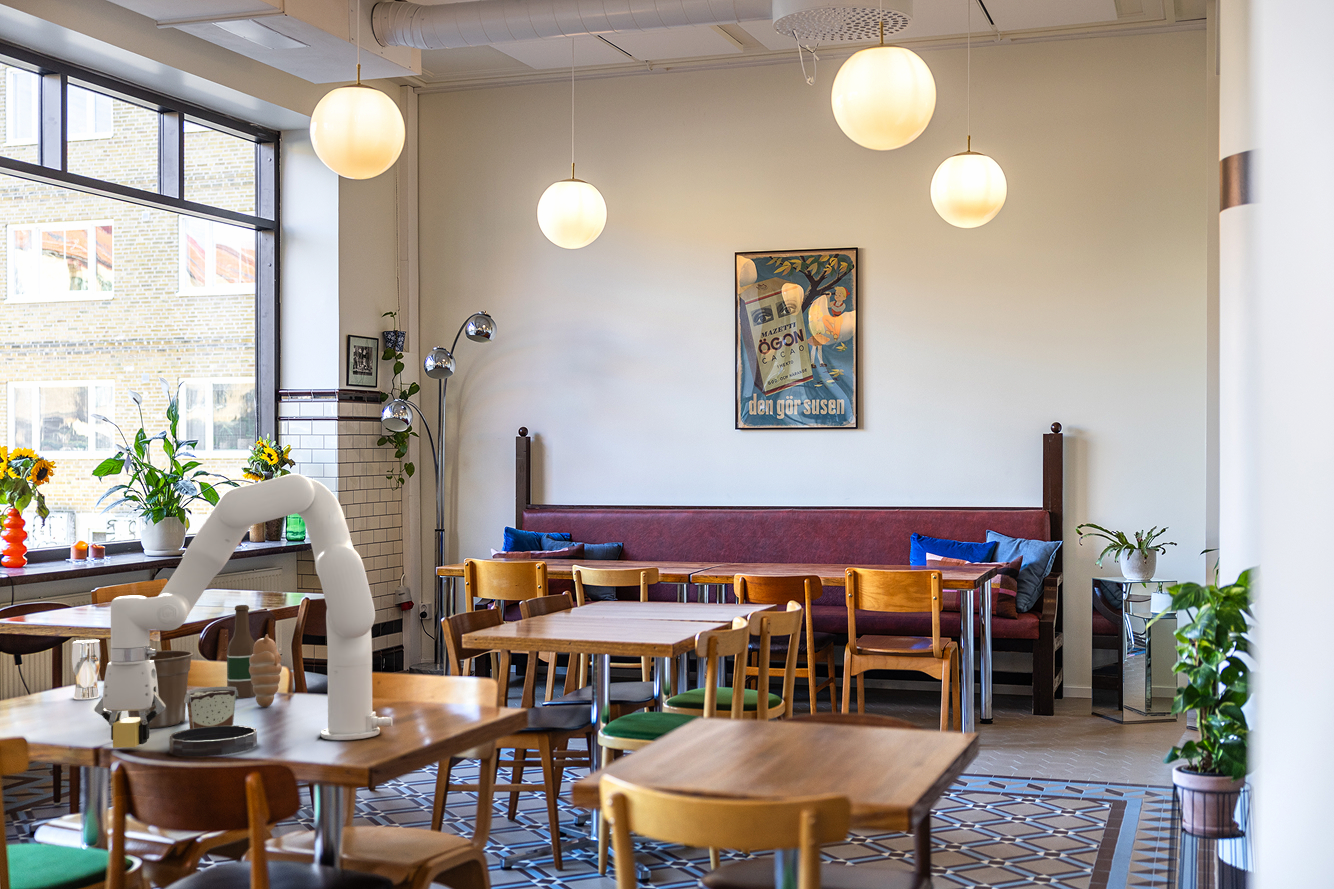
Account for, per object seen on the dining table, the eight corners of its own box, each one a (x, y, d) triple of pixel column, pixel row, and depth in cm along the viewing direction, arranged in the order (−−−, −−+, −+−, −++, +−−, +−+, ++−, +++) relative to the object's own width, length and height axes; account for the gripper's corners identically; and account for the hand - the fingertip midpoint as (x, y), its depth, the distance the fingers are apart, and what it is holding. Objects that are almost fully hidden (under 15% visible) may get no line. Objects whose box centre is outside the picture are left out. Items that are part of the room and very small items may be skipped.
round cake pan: (266, 740, 275) (265, 724, 275) (243, 757, 258) (243, 740, 258) (185, 743, 274) (184, 726, 274) (157, 759, 257) (157, 742, 257)
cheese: (147, 740, 269) (147, 716, 269) (135, 747, 262) (135, 722, 262) (125, 741, 268) (125, 717, 269) (112, 747, 261) (112, 723, 262)
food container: (223, 728, 290) (223, 684, 291) (238, 731, 286) (238, 686, 287) (173, 737, 281) (172, 691, 281) (187, 740, 277) (187, 694, 277)
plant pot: (138, 733, 286) (137, 661, 287) (106, 725, 297) (106, 656, 298) (206, 722, 298) (205, 653, 299) (173, 715, 309) (173, 648, 310)
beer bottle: (230, 694, 340) (230, 604, 341) (260, 693, 341) (260, 603, 342) (223, 699, 333) (223, 607, 334) (254, 698, 334) (253, 606, 334)
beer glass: (82, 695, 343) (81, 639, 343) (106, 695, 342) (105, 639, 342) (66, 700, 336) (66, 643, 336) (90, 700, 335) (90, 643, 335)
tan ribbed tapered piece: (281, 709, 315) (280, 636, 316) (247, 711, 313) (247, 637, 314) (282, 703, 324) (282, 632, 325) (250, 705, 322) (250, 633, 323)
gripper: (177, 652, 270) (177, 738, 269) (96, 654, 269) (96, 741, 268) (165, 656, 262) (165, 746, 262) (81, 658, 262) (81, 748, 261)
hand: (130, 742), depth 265 cm, fingers closed on cheese, 4 cm apart
